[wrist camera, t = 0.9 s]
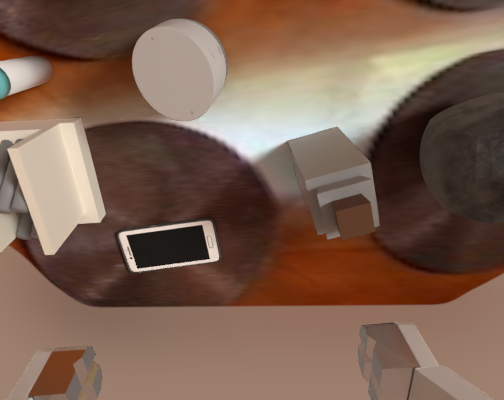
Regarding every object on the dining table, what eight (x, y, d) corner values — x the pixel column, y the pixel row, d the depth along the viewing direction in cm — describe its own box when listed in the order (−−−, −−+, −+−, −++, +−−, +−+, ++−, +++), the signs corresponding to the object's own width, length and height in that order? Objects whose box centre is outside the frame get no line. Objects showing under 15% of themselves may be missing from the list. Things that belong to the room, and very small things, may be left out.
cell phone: (222, 258, 57) (222, 261, 57) (130, 270, 58) (129, 274, 57) (213, 215, 54) (213, 218, 53) (116, 228, 54) (114, 232, 53)
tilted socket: (-6, 122, 46) (-82, 154, 35) (81, 117, 46) (33, 148, 35) (29, 218, 53) (-27, 271, 41) (105, 213, 53) (71, 265, 42)
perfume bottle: (298, 184, 52) (327, 259, 36) (287, 140, 49) (313, 200, 33) (345, 171, 51) (395, 241, 35) (337, 126, 48) (387, 180, 32)
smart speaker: (135, 40, 43) (93, 49, 30) (204, 3, 41) (191, -4, 29) (176, 113, 47) (154, 148, 34) (240, 81, 45) (242, 105, 33)
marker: (20, 54, 43) (-44, 65, 33) (49, 53, 43) (-6, 63, 33) (29, 84, 44) (-29, 103, 35) (57, 83, 45) (7, 101, 35)
